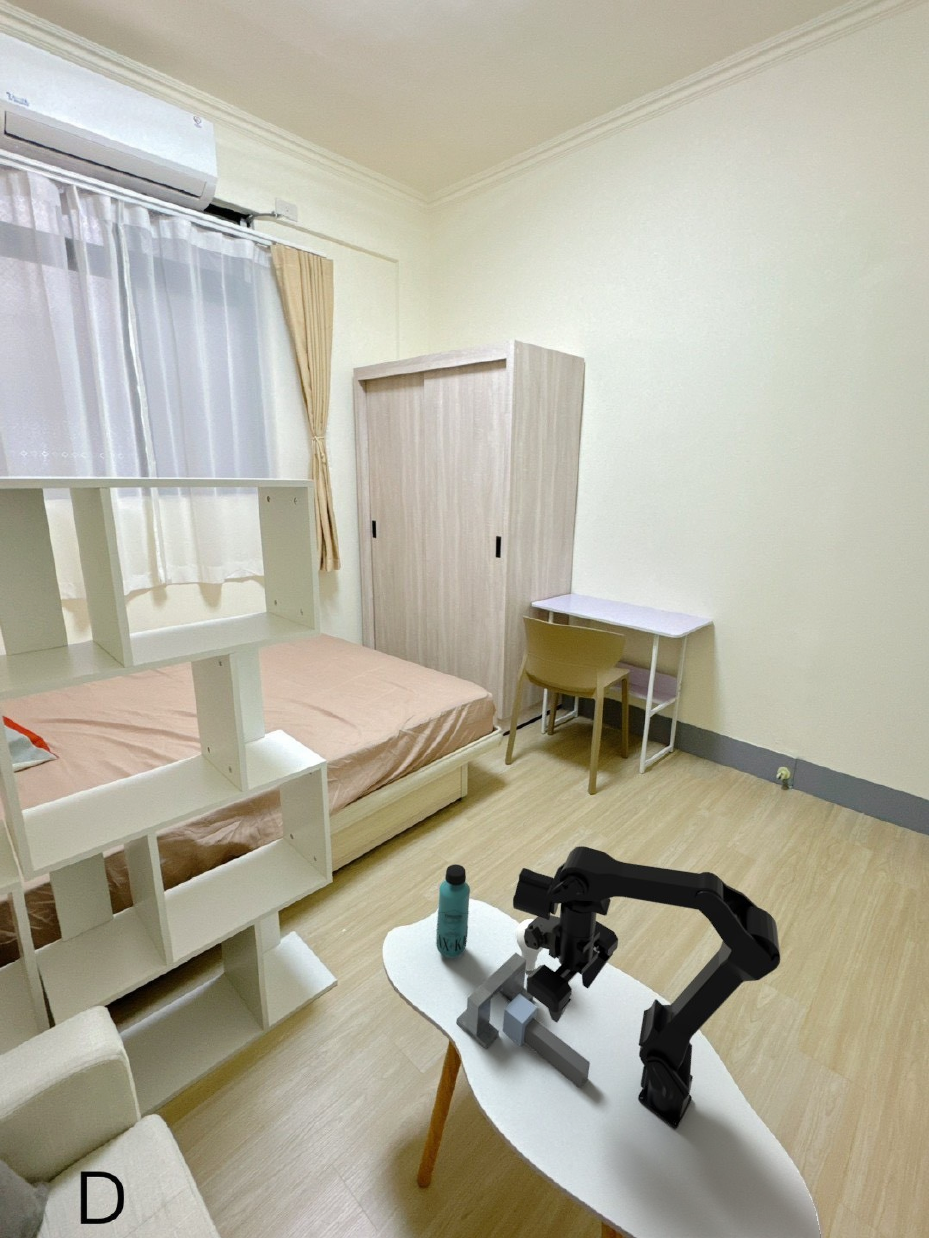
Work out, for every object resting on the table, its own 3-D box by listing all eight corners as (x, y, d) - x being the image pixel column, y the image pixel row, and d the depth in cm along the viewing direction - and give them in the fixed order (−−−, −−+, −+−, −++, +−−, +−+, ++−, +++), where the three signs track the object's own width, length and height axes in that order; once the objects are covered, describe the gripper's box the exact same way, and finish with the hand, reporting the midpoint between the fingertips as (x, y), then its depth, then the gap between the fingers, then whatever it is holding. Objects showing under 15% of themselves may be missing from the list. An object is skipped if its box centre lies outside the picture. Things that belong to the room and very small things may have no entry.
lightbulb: (533, 986, 113) (538, 940, 110) (507, 970, 116) (511, 924, 114) (548, 967, 118) (553, 922, 115) (523, 951, 121) (527, 907, 118)
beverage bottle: (432, 942, 122) (435, 861, 117) (461, 936, 124) (466, 856, 119) (439, 967, 116) (443, 883, 111) (471, 960, 118) (476, 877, 113)
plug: (590, 1074, 97) (593, 1051, 96) (577, 1093, 94) (580, 1069, 93) (513, 1011, 108) (515, 989, 106) (498, 1027, 104) (500, 1005, 103)
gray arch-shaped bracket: (532, 998, 110) (535, 966, 109) (485, 1049, 100) (488, 1014, 98) (504, 976, 115) (506, 945, 113) (456, 1023, 105) (458, 989, 103)
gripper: (568, 873, 105) (562, 945, 109) (502, 928, 92) (498, 1007, 96) (623, 905, 98) (615, 980, 102) (559, 969, 85) (553, 1053, 88)
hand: (570, 1002), depth 97 cm, fingers open, 9 cm apart
